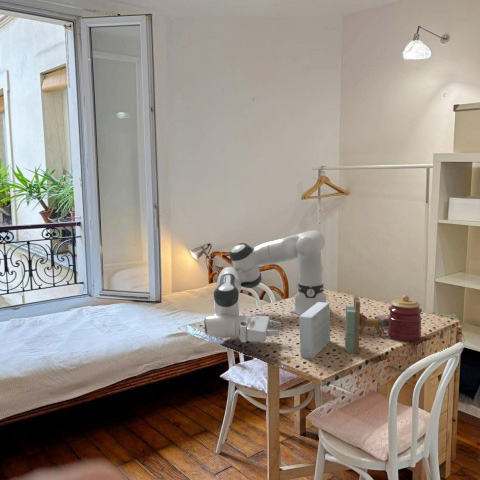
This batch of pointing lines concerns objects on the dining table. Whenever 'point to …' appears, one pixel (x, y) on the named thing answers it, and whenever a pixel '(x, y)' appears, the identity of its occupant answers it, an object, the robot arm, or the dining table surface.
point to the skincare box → (314, 329)
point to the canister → (405, 320)
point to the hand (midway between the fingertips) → (279, 328)
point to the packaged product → (383, 321)
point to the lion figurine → (370, 324)
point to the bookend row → (352, 327)
